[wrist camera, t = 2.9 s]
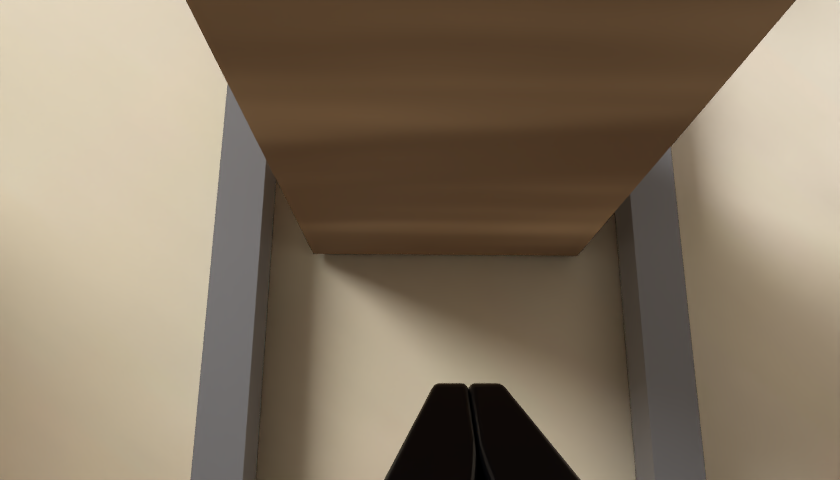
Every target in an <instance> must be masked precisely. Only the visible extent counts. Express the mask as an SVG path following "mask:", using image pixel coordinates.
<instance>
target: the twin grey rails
mask: <svg viewBox="0 0 840 480" xmlns="http://www.w3.org/2000/svg"><path fill="white" fill-rule="evenodd" d="M275 189H276V178H275V176H274V174H273V172H272V170H271V168H270V166H269V164H268V162H267V160H266V158H265V156H264V154H263V152H262V151H261V149H260V147H259V145H258V143H257V141H256V139H255V137H254V135H253V133H252V131H251V129H250V127H249V125H248V123H247V121H246V119H245V117H244V115H243V113H242V111H241V109H240V107H239V105H238V103H237V101H236V99H235V97H234V95H233V93H232V91H231V89H230V87H229V85H228V86H227V96H226V107H225V118H224V128H223V139H222V150H221V160H220V171H219V182H218V193H217V203H216V214H215V225H214V235H213V246H212V257H211V267H210V278H209V289H208V299H207V310H206V321H205V331H204V342H203V353H202V364H201V374H200V385H199V396H198V406H197V417H196V428H195V438H194V449H193V460H192V470H191V480H256V467H257V453H258V438H259V423H260V409H261V394H262V380H263V365H264V350H265V336H266V321H267V306H268V292H269V277H270V262H271V248H272V233H273V219H274V204H275ZM615 219H616V231H617V244H618V257H619V269H620V282H621V294H622V307H623V320H624V332H625V345H626V357H627V370H628V383H629V395H630V408H631V420H632V433H633V446H634V458H635V471H636V480H706V474H705V464H704V455H703V445H702V436H701V427H700V417H699V408H698V398H697V389H696V380H695V370H694V361H693V351H692V342H691V333H690V323H689V314H688V305H687V295H686V286H685V276H684V267H683V258H682V248H681V239H680V229H679V220H678V211H677V201H676V192H675V182H674V173H673V164H672V154H671V147H670V148H669V149H668V150H667V151H666V153H665V154H664V155H663V156H662V157H661V158H660V160H659V161H658V162H657V163H656V164H655V165H654V167H653V168H652V169H651V170H650V171H649V172H648V174H647V175H646V176H645V177H644V178H643V179H642V181H641V182H640V183H639V184H638V185H637V187H636V188H635V189H634V190H633V191H632V192H631V194H630V195H629V196H628V197H627V198H626V199H625V201H624V202H623V203H622V204H621V205H620V206H619V208H618V209H617V210H616V211H615Z"/></svg>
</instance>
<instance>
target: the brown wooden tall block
mask: <svg viewBox="0 0 840 480" xmlns="http://www.w3.org/2000/svg"><path fill="white" fill-rule="evenodd" d="M795 1H796V0H186V2H187V3H188V5H189V7H190V9H191V11H192V13H193V15H194V17H195V19H196V21H197V23H198V25H199V27H200V29H201V31H202V33H203V35H204V37H205V39H206V41H207V43H208V45H209V47H210V49H211V51H212V53H213V55H214V57H215V59H216V61H217V63H218V65H219V67H220V69H221V71H222V73H223V75H224V77H225V79H226V81H227V83H228V85H229V87H230V89H231V91H232V93H233V95H234V97H235V99H236V101H237V103H238V105H239V107H240V109H241V111H242V113H243V115H244V117H245V119H246V121H247V123H248V125H249V127H250V129H251V131H252V133H253V135H254V137H255V139H256V141H257V143H258V145H259V147H260V149H261V151H262V152H263V154H264V156H265V158H266V160H267V162H268V164H269V166H270V168H271V170H272V172H273V174H274V176H275V178H276V180H277V182H278V184H279V186H280V188H281V190H282V192H283V194H284V196H285V198H286V200H287V202H288V204H289V206H290V208H291V210H292V212H293V214H294V216H295V218H296V220H297V222H298V224H299V226H300V228H301V230H302V232H303V234H304V236H305V238H306V240H307V242H308V244H309V246H310V248H311V250H312V252H313V254H423V255H554V256H577V255H578V254H579V253H580V252H581V251H582V250H583V248H584V247H585V246H586V245H587V244H588V243H589V241H590V240H591V239H592V238H593V237H594V236H595V234H596V233H597V232H598V231H599V230H600V229H601V227H602V226H603V225H604V224H605V223H606V222H607V220H608V219H609V218H610V217H611V216H612V215H613V213H614V212H615V211H616V210H617V209H618V208H619V206H620V205H621V204H622V203H623V202H624V201H625V199H626V198H627V197H628V196H629V195H630V194H631V192H632V191H633V190H634V189H635V188H636V187H637V185H638V184H639V183H640V182H641V181H642V179H643V178H644V177H645V176H646V175H647V174H648V172H649V171H650V170H651V169H652V168H653V167H654V165H655V164H656V163H657V162H658V161H659V160H660V158H661V157H662V156H663V155H664V154H665V153H666V151H667V150H668V149H669V148H670V147H671V146H672V144H673V143H674V142H675V141H676V140H677V139H678V137H679V136H680V135H681V134H682V133H683V132H684V130H685V129H686V128H687V127H688V126H689V125H690V123H691V122H692V121H693V120H694V119H695V118H696V116H697V115H698V114H699V113H700V112H701V111H702V109H703V108H704V107H705V106H706V105H707V104H708V102H709V101H710V100H711V99H712V98H713V96H714V95H715V94H716V93H717V92H718V91H719V89H720V88H721V87H722V86H723V85H724V84H725V82H726V81H727V80H728V79H729V78H730V77H731V75H732V74H733V73H734V72H735V71H736V70H737V68H738V67H739V66H740V65H741V64H742V63H743V61H744V60H745V59H746V58H747V57H748V56H749V54H750V53H751V52H752V51H753V50H754V49H755V47H756V46H757V45H758V44H759V43H760V42H761V40H762V39H763V38H764V37H765V36H766V35H767V33H768V32H769V31H770V30H771V29H772V28H773V26H774V25H775V24H776V23H777V22H778V21H779V19H780V18H781V17H782V16H783V15H784V13H785V12H786V11H787V10H788V9H789V8H790V6H791V5H792V4H793V3H794V2H795Z"/></svg>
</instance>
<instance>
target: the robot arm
mask: <svg viewBox="0 0 840 480" xmlns="http://www.w3.org/2000/svg"><path fill="white" fill-rule="evenodd" d="M384 480H580V479H579V477H578V476H577V475H576V474H575V472H574V471H573V470H572V469H571V468H570V466H569V465H568V464H567V463H566V461H565V460H564V459H563V458H562V457H561V455H560V454H559V453H558V452H557V450H556V449H555V448H554V447H553V446H552V444H551V443H550V442H549V441H548V439H547V438H546V437H545V436H544V435H543V433H542V432H541V431H540V430H539V428H538V427H537V426H536V425H535V424H534V422H533V421H532V420H531V419H530V417H529V416H528V415H527V414H526V412H525V411H524V410H523V409H522V408H521V406H520V405H519V404H518V403H517V401H516V400H515V399H514V398H513V397H512V395H511V394H510V393H509V392H508V390H507V389H506V388H505V387H504V386H503V385H501V384H497V383H474V384H472V385H470V387H469V389H468V387H467V386H466V385H465V384H462V383H439V384H436V385H434V387H433V388H432V389H431V391H430V393H429V395H428V397H427V399H426V401H425V403H424V405H423V407H422V408H421V410H420V412H419V414H418V416H417V418H416V420H415V422H414V424H413V426H412V428H411V429H410V431H409V433H408V435H407V437H406V439H405V441H404V443H403V445H402V447H401V449H400V450H399V452H398V454H397V456H396V458H395V460H394V462H393V464H392V466H391V468H390V470H389V471H388V473H387V475H386V477H385V479H384Z"/></svg>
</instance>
